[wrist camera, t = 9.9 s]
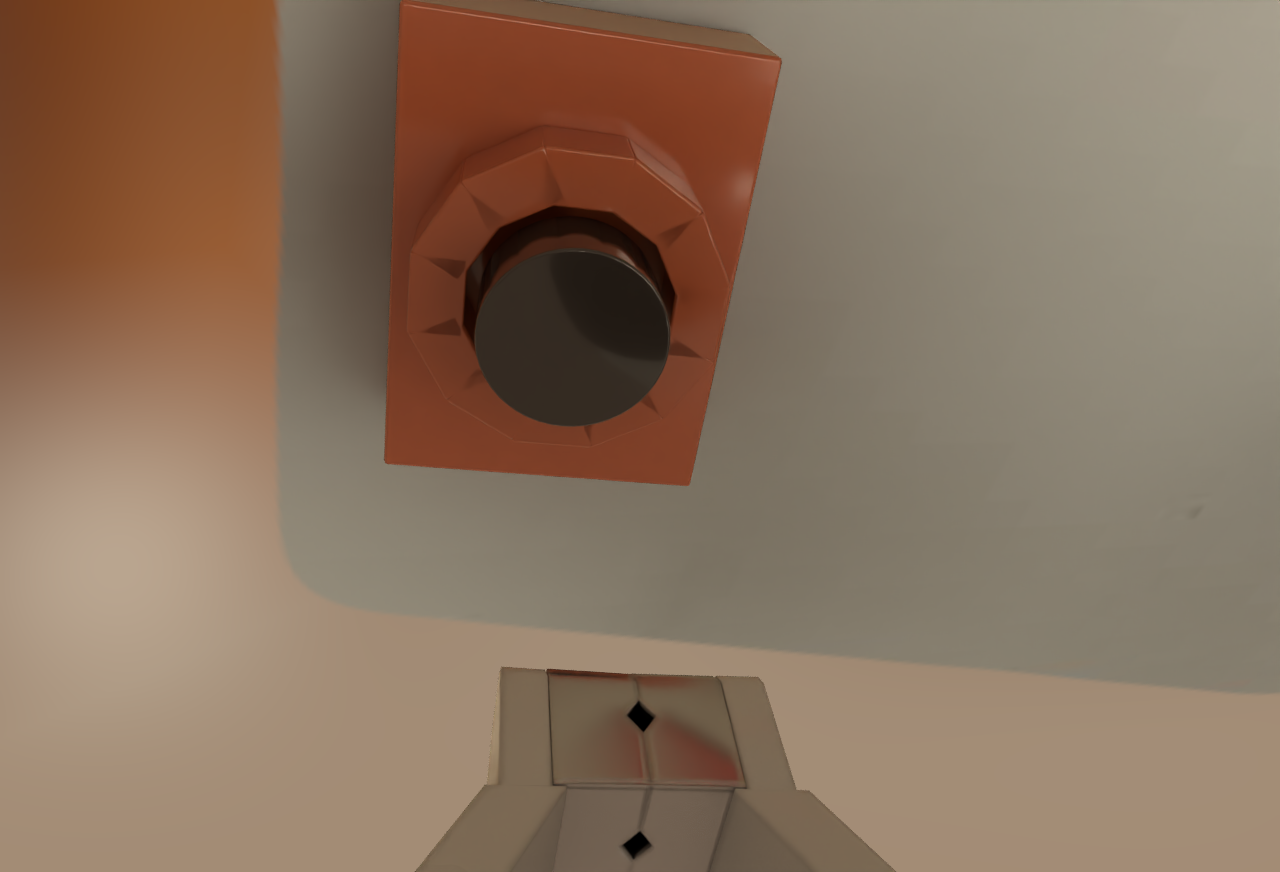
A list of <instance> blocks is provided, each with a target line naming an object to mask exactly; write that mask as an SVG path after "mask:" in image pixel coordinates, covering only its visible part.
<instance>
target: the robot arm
mask: <svg viewBox="0 0 1280 872" xmlns="http://www.w3.org/2000/svg"><path fill="white" fill-rule="evenodd" d="M415 872H896V871H895V870H894V869H893V868H891V866H889V865H888V864H887V863H886V862H885V861H884V860H883V859H882V858H881V857H880V856H879V855H878V854H877V853H876V852H874V851H873V850H872V849H871V848H870V847H869V846H868V845H867V844H866V843H864V841H863V840H862V839H860V838H859V837H858V836H857V835H856V834H855V833H854V832H853V831H852V830H851V829H850V828H849V827H848V826H847V825H845V824H844V823H843V822H842V821H841V820H840V819H839V818H838V817H837V816H836V815H835V814H833V812H831V811H830V810H829V809H828V808H827V807H826V806H825V805H824V804H823V803H822V802H821V801H820V800H819V799H817V798H816V797H815V796H814V795H813V794H812V793H811V792H810V791H804V790H796V787H795V783H794V780H793V777H792V774H791V771H790V767H789V764H788V761H787V757H786V755H785V751H784V748H783V744H782V742H781V738H780V735H779V731H778V729H777V725H776V722H775V719H774V715H773V712H772V709H771V706H770V702H769V699H768V696H767V693H766V690H765V686H764V684H763V682H762V681H761V680H760V679H759V678H758V677H736V676H735V677H734V676H716V677H713V676H692V675H657V674H621V673H605V672H590V671H574V670H558V669H557V670H556V669H547V670H546V671H545V670H540V669H526V668H512V667H501V670H500V672H499V678H498V686H497V694H496V703H495V711H494V720H493V727H492V735H491V745H490V756H489V768H488V779H487V785H484V787H483V788H482V789H481V790H480V792H479V793H478V794H477V795H476V796H475V798H474V799H473V800H472V802H471V803H470V804H469V805H468V807H467V808H466V809H465V810H464V811H463V813H462V814H461V815H460V816H459V818H458V819H457V820H456V821H455V823H454V824H453V825H452V826H451V828H450V829H449V830H448V831H447V833H446V834H445V835H444V836H443V837H442V839H441V840H440V841H439V842H438V844H437V845H436V846H435V847H434V849H433V850H432V851H431V852H430V854H429V855H428V856H427V858H426V859H425V860H424V861H423V862H422V864H421V865H420V866H419V867H418V869H417V870H416V871H415Z"/></svg>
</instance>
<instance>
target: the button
mask: <svg viewBox="0 0 1280 872" xmlns="http://www.w3.org/2000/svg"><path fill="white" fill-rule="evenodd" d="M670 342H671V327H670V321H669V316H668V313H667V310H666V306H665V303H664V300H663V297H662V294H661V291H660V288H659V285H658V282H657V279H656V276H655V273H654V270H653V268H652V266H651V264H650V262H649V260H648V259H647V257H646V256H645V254H644V253H643V251H642V250H641V249H640V248H639V246H638V245H637V244H636V243H635V242H634V241H633V240H632V239H630V238H629V237H628V236H627V235H626V234H624V233H623V232H621V231H620V230H618V229H616V228H615V227H613V226H610V225H608V224H606V223H604V222H601V221H598V220H595V219H590V218H585V217H577V216H561V217H553V218H548V219H543V220H540V221H537V222H534V223H532V224H530V225H528V226H526V227H523V228H521V229H520V230H518V231H517V232H515V233H514V234H512V235H511V236H510V237H509V238H507V239H506V240H505V241H504V242H503V243H502V244H501V245H500V246H499V247H498V248H497V249H496V251H495V252H494V253H493V255H492V256H491V258H490V259H489V261H488V262H487V264H486V267H485V269H484V271H483V273H482V277H481V280H480V283H479V289H478V296H477V308H476V320H475V332H474V344H475V352H476V357H477V360H478V364H479V367H480V369H481V372H482V374H483V376H484V378H485V379H486V381H487V383H488V384H489V386H490V387H491V389H492V390H493V391H494V392H495V393H496V395H497V396H498V397H499V398H500V399H501V400H503V401H504V402H505V403H506V404H507V405H508V406H510V407H511V408H513V409H514V410H515V411H517V412H519V413H520V414H522V415H524V416H526V417H528V418H531V419H533V420H536V421H538V422H542V423H546V424H550V425H556V426H568V427H576V426H587V425H592V424H597V423H601V422H604V421H607V420H610V419H612V418H614V417H616V416H619V415H621V414H622V413H624V412H626V411H627V410H629V409H631V408H632V407H633V406H635V405H636V404H637V403H638V402H640V401H641V400H642V399H643V398H644V397H645V396H646V395H647V394H648V393H649V391H650V390H651V389H652V388H653V386H654V385H655V384H656V382H657V381H658V379H659V377H660V375H661V374H662V372H663V369H664V367H665V364H666V362H667V358H668V355H669V351H670Z"/></svg>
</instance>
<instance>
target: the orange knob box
mask: <svg viewBox="0 0 1280 872" xmlns="http://www.w3.org/2000/svg"><path fill="white" fill-rule="evenodd" d="M781 64H782V60H781V58H780V57H779V56H777V55H776V54H775V53H773V52H772V51H771V50H770V49H768V48H767V47H766V46H764V45H763V44H762V43H761V42H759V41H758V40H757V39H755V38H754V37H753V36H751V35H750V34H744V33H738V32H731V31H725V30H719V29H712V28H706V27H700V26H693V25H687V24H680V23H674V22H668V21H661V20H655V19H649V18H642V17H636V16H630V15H623V14H617V13H610V12H604V11H598V10H591V9H585V8H579V7H572V6H566V5H560V4H553V3H547V2H540V1H534V0H401V2H400V6H399V35H398V65H397V94H396V123H395V153H394V182H393V212H392V241H391V271H390V300H389V330H388V359H387V389H386V418H385V447H384V461H385V463H386V464H394V465H408V466H421V467H435V468H448V469H462V470H476V471H489V472H503V473H517V474H530V475H544V476H557V477H571V478H585V479H598V480H612V481H625V482H639V483H653V484H666V485H680V486H689V484H690V482H691V477H692V472H693V468H694V463H695V459H696V454H697V449H698V445H699V440H700V436H701V431H702V427H703V422H704V417H705V413H706V408H707V404H708V399H709V394H710V390H711V385H712V381H713V376H714V371H715V367H716V362H717V358H718V353H719V348H720V344H721V339H722V335H723V330H724V326H725V321H726V316H727V312H728V307H729V303H730V298H731V293H732V289H733V284H734V280H735V275H736V270H737V266H738V261H739V257H740V252H741V247H742V243H743V238H744V234H745V229H746V225H747V220H748V215H749V211H750V206H751V202H752V197H753V192H754V188H755V183H756V179H757V174H758V169H759V165H760V160H761V156H762V151H763V146H764V142H765V137H766V133H767V128H768V124H769V119H770V114H771V110H772V105H773V101H774V96H775V91H776V87H777V82H778V78H779V73H780V68H781ZM561 216H577V217H585V218H590V219H595V220H598V221H601V222H604V223H606V224H608V225H610V226H613V227H615V228H616V229H618V230H620V231H621V232H623V233H624V234H626V235H627V236H628V237H629V238H630V239H632V240H633V241H634V242H635V243H636V244H637V245H638V246H639V248H640V249H641V250H642V251H643V253H644V254H645V256H646V257H647V259H648V260H649V262H650V264H651V266H652V268H653V270H654V273H655V276H656V279H657V282H658V285H659V288H660V291H661V294H662V297H663V300H664V303H665V306H666V310H667V313H668V316H669V321H670V327H671V342H670V351H669V355H668V358H667V362H666V364H665V367H664V369H663V372H662V374H661V375H660V377H659V379H658V381H657V382H656V384H655V385H654V386H653V388H652V389H651V390H650V391H649V393H648V394H647V395H646V396H645V397H644V398H643V399H642V400H641V401H640V402H638V403H637V404H636V405H635V406H633V407H632V408H631V409H629V410H627V411H626V412H624V413H622V414H621V415H619V416H616V417H614V418H612V419H610V420H607V421H604V422H601V423H597V424H592V425H587V426H576V427H568V426H556V425H550V424H546V423H542V422H538V421H536V420H533V419H531V418H528V417H526V416H524V415H522V414H520V413H519V412H517V411H515V410H514V409H513V408H511V407H510V406H508V405H507V404H506V403H505V402H504V401H503V400H501V399H500V398H499V397H498V396H497V395H496V393H495V392H494V391H493V390H492V389H491V387H490V386H489V384H488V383H487V381H486V379H485V378H484V376H483V374H482V372H481V369H480V367H479V364H478V360H477V357H476V352H475V344H474V332H475V320H476V308H477V296H478V289H479V283H480V280H481V277H482V273H483V271H484V269H485V267H486V264H487V262H488V261H489V259H490V258H491V256H492V255H493V253H494V252H495V251H496V249H497V248H498V247H499V246H500V245H501V244H502V243H503V242H504V241H505V240H506V239H507V238H509V237H510V236H511V235H512V234H514V233H515V232H517V231H518V230H520V229H521V228H523V227H526V226H528V225H530V224H532V223H534V222H537V221H540V220H543V219H548V218H553V217H561Z"/></svg>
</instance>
